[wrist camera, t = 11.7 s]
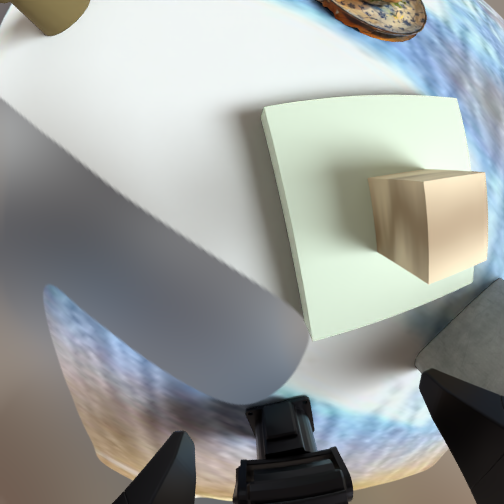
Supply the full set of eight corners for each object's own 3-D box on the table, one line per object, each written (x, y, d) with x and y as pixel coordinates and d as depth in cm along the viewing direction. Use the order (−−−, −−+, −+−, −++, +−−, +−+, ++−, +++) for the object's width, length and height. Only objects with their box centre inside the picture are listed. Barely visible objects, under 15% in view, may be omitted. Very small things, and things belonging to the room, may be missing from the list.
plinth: (453, 272, 21) (472, 282, 18) (304, 321, 21) (312, 341, 19) (435, 103, 17) (456, 98, 14) (260, 117, 17) (264, 106, 14)
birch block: (431, 236, 17) (486, 259, 11) (377, 252, 17) (428, 284, 11) (425, 169, 16) (485, 172, 10) (367, 178, 16) (423, 181, 10)
